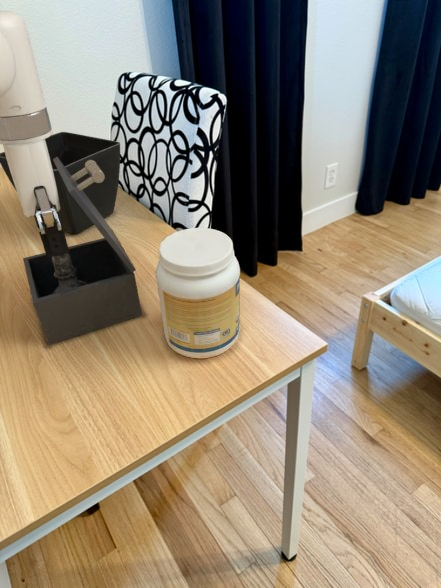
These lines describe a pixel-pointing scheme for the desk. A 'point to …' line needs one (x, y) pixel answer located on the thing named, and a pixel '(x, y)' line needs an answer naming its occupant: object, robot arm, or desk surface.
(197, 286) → the supplement tub
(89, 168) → the lid
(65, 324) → the chest
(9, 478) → the desk surface
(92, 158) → the flower pot
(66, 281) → the chess piece
